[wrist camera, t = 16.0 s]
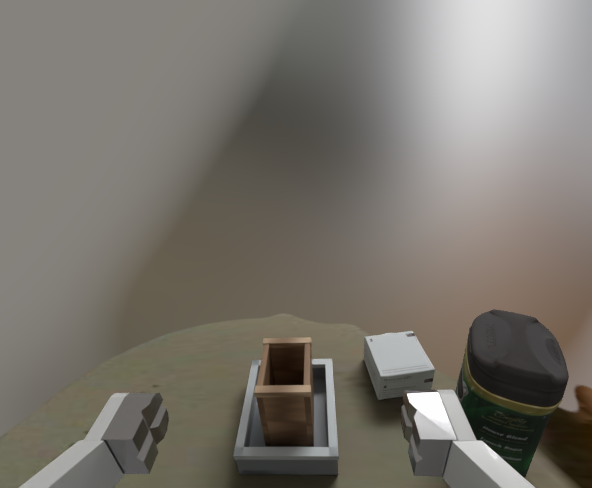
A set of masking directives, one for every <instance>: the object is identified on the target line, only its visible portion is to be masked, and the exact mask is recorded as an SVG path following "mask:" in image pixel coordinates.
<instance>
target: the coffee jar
mask: <svg viewBox="0 0 592 488" xmlns="http://www.w3.org/2000/svg"><path fill="white" fill-rule="evenodd" d="M568 377H569V376H568V371H567V367H566V362H565V359H564V356H563V353H562V351H561V349H560V346H559V344H558V342H557V340H556V338H555V337H554V335H553V334H552V333H551V332H550V331H549V330H548V329H547V328H546V327H545V326H544V325H542V324H541V323H540V322H539V321H538V320H537V319H536V318H534V317H531V316H526V315H521V314H516V313H512V312H507V311H501V310H491V311H489V312H486V313H483V314H481V315H479V316H478V317H477V318H476V319H475V320H474V321H473V323H472V326H471V327H470V329H469V335H468V339H467V345H466V349H465V354H464V359H463V363H462V368H461V371H460V376H459V379H458V383H457V387H456V391H455V393H456V395H457V397H458V400H459V402H460V404H461V406H462V409H463V411H464V413H465V415H466V417H467V420H468V422H469V424H470V426H471V429H472V431H473V433H474V435H475V437H476V440H479V441H483V442H484V443H485V444H486V445H487V446H489V447H490V448H491V449H492V450H493V451H494V452H495V453H497V454H498V455H499V456H500V457H501V458H502V459H503V460H504V461H506V462H507V463H508V464H509V465H510V466H511V467H512V468H513V469H515V470H516V471H517V472H518V473H519V474H520V475H521V476H522V477H524V478H525V476H526V474H527V471H528V469H529V466H530V463H531V461H532V458H533V455H534V453H535V451H536V448H537V446H538V444H539V441H540V439H541V437H542V434H543V432H544V430H545V427H546V425H547V423H548V420H549V418H550V416H551V414H552V413H553V411H554V410H555V409H556V408H557V407H558V406H559V404H560V403H561V401H562V397H563V395H564V391H565V388H566V385H567V381H568Z"/></svg>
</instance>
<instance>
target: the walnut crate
mask: <svg viewBox="0 0 592 488" xmlns="http://www.w3.org/2000/svg"><path fill="white" fill-rule="evenodd" d="M254 394H255V397H256V399H257V404H258V409H259V414H260V419H261V424H262V430H263V435H264V440H265V445H266V446H314V385H313V370H312V356H311V337H307V338H264V341H263V352H262V358H261V363H260V369H259V374H258V380H257V386H255V391H254Z"/></svg>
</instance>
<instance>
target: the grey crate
mask: <svg viewBox="0 0 592 488" xmlns="http://www.w3.org/2000/svg"><path fill="white" fill-rule="evenodd" d="M260 363H261V360H253V361H252V366H251V371H250V376H249V381H248V386H247V391H246V396H245V400H244V405H243V410H242V415H241V420H240V425H239V430H238V435H237V440H236V445H235V450H234V454H233V457H234V460H236V463H237V467H238V470H239V474H288V475H338V460H339V458H338V442H337V427H336V412H335V397H334V383H333V368H332V359H312V370H313V385H314V446H266V445H265V440H264V435H263V430H262V424H261V419H260V414H259V409H258V404H257V399H256V397H255V394H254V391H255V386H257V380H258V374H259V369H260Z"/></svg>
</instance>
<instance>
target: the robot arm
mask: <svg viewBox="0 0 592 488" xmlns="http://www.w3.org/2000/svg"><path fill="white" fill-rule="evenodd" d="M162 401H163V399H162V397H161V395H160V393H115V394H113V395H112V396H111V397H110V398H109V400H108V402H107V403H106V405H105V406H104V408H103V410H102V411H101V413H100V415H99V416H98V418H97V419H96V421H95V423H94V424H93V426H92V428H91V429H90V431H89V432H88V434H87V436H86V437H85V439H84V440H80V441H78V442H77V443H75V444H74V445H73V446H72V447H70V448H69V449H68V450H67V451H65V452H64V453H63V454H61V455H60V456H59V457H58V458H56V459H55V460H54V461H52V462H51V463H50V464H49V465H47V466H46V467H45V468H44V469H42V470H41V471H40V472H38V473H37V474H36V475H35V476H33V477H32V478H31V479H29V480H28V481H27V482H26V483H24V484H23V485H22V486H21V487H19V488H113V487H114V486H115V485H116V484H117V483H118V482H119V481H120V480H121V479H122V478H123V476H124V475H123V474H150V471H151V469H152V466H153V464H154V461H155V459H156V456H157V454H158V449H157V444H158V443H159V442H160V441H161V440H162V439H164V436H165V434H166V431H167V427H168V421H169V417H168V412H167V409H166V408H165V407H164V406H162V405H161V403H162ZM403 401H404V405H403V406H402V407H401V423H402V429H403V433H404V438H405V439H406V440H407V441H408V442H409V443H410V444H409V451H408V454H409V457H410V461H411V465H412V469H413V473H414V476H440V477H443V479H444V480H445V481H446V483H447V484H448V485H449V486H450V488H535V487H534V486H533V485H532V484H530V483H529V482H528V481H527V480H526V479H525V478H524V477H522V476H521V475H520V474H519V473H518V472H517V471H516V470H515V469H513V468H512V467H511V466H510V465H509V464H508V463H507V462H506V461H504V460H503V459H502V458H501V457H500V456H499V455H498V454H497V453H495V452H494V451H493V450H492V449H491V448H490V447H489V446H487V445H486V444H485V443H484V442H483V441H479V440H476V437H475V435H474V433H473V431H472V429H471V426H470V424H469V422H468V420H467V417H466V415H465V413H464V411H463V409H462V406H461V404H460V402H459V400H458V397H457V395H456V393H455V392H454V391H453V390H435V389H434V390H404V392H403Z"/></svg>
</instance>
